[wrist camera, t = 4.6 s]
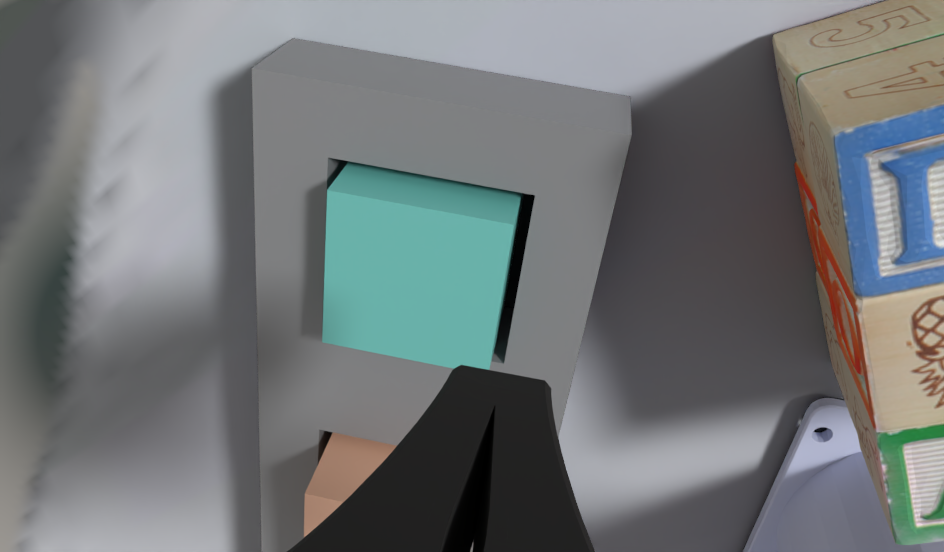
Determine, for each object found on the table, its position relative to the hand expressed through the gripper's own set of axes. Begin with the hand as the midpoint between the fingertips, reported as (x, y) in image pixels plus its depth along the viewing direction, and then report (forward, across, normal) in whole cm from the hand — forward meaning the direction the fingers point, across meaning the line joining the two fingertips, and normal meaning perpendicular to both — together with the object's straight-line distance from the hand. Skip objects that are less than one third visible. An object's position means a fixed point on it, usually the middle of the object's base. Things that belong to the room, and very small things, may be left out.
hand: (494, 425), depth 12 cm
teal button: (+10, +2, +2) cm, 11 cm away
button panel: (+9, +3, +10) cm, 14 cm away
